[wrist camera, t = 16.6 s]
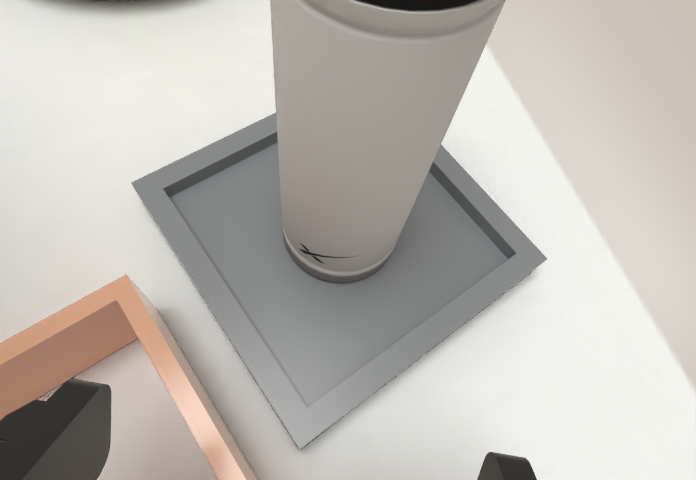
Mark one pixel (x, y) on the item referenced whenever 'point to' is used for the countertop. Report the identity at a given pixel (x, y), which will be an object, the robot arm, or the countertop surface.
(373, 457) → the countertop surface
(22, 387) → the holder
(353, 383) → the tray
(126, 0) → the cake pan
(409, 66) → the travel mug
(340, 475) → the countertop surface
